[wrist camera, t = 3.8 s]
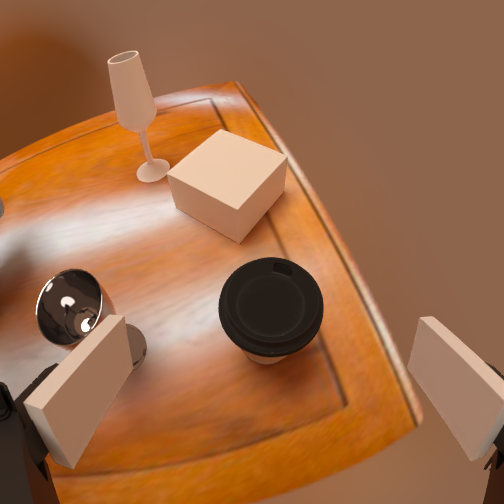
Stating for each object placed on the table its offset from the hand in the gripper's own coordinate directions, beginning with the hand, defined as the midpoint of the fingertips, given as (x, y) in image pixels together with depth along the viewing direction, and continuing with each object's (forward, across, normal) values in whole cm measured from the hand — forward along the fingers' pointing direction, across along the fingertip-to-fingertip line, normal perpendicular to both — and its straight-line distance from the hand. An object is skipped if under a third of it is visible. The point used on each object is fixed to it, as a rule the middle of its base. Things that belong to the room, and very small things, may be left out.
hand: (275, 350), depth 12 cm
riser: (+40, -5, +4) cm, 41 cm away
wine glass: (+22, -19, -14) cm, 33 cm away
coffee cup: (+24, 0, -13) cm, 27 cm away
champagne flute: (+46, -21, +9) cm, 51 cm away
